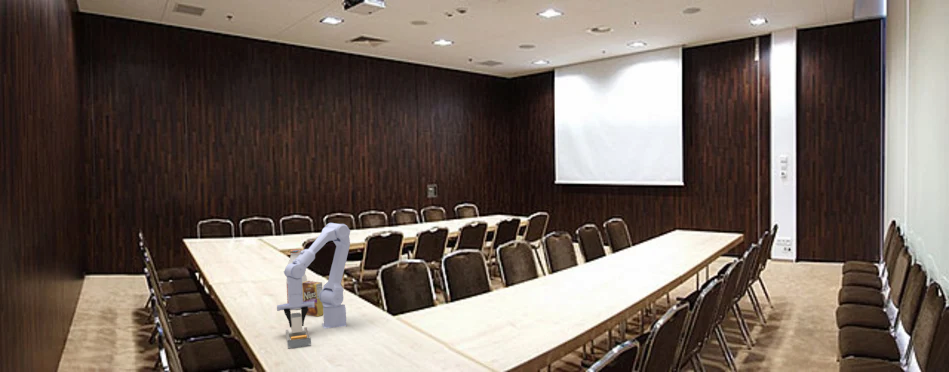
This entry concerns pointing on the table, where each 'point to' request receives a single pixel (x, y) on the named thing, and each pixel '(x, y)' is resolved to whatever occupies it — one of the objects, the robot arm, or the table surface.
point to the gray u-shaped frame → (298, 340)
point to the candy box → (313, 297)
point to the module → (296, 322)
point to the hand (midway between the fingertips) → (296, 326)
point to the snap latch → (298, 337)
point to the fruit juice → (294, 255)
